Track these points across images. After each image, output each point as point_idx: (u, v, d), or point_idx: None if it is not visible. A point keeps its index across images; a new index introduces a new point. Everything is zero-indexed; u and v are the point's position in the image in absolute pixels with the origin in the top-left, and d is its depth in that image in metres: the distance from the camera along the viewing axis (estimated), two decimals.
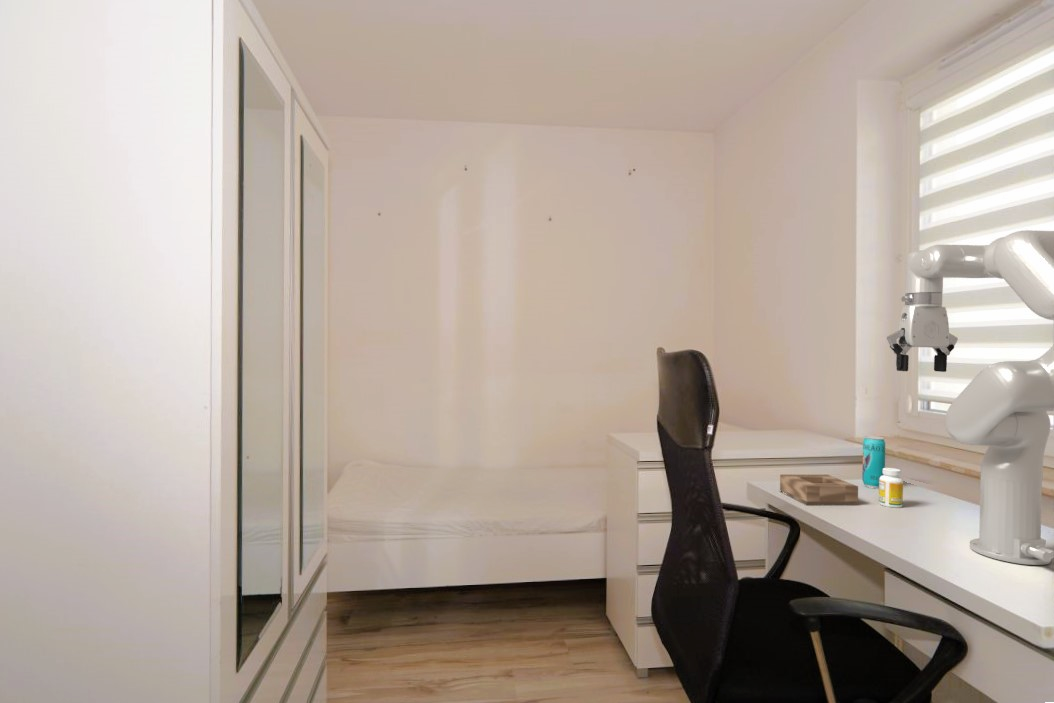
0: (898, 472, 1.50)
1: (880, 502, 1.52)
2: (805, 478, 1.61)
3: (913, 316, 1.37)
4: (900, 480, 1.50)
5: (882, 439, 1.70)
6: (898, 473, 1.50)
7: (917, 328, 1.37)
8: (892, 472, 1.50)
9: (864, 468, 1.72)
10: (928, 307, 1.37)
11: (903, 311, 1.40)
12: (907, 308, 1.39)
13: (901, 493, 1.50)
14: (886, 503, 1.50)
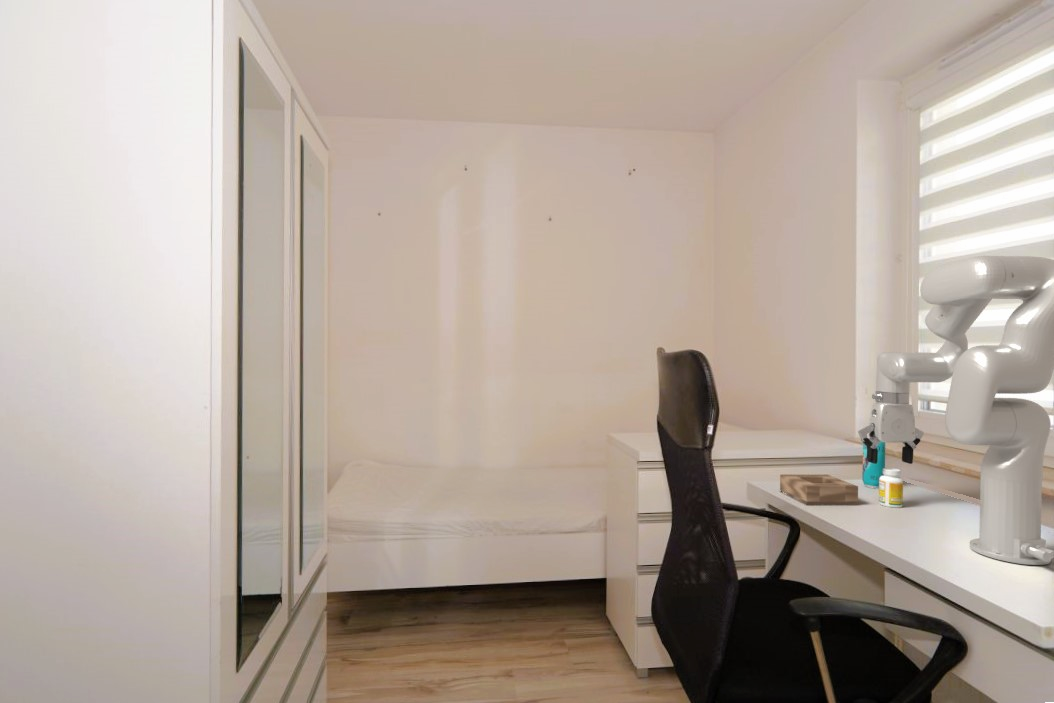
0: (898, 472, 1.50)
1: (880, 502, 1.52)
2: (805, 478, 1.61)
3: (882, 414, 1.49)
4: (900, 480, 1.50)
5: None
6: (898, 473, 1.50)
7: (885, 425, 1.49)
8: (892, 472, 1.50)
9: (864, 468, 1.72)
10: (896, 406, 1.49)
11: (873, 407, 1.52)
12: (877, 405, 1.51)
13: (901, 493, 1.50)
14: (886, 503, 1.50)
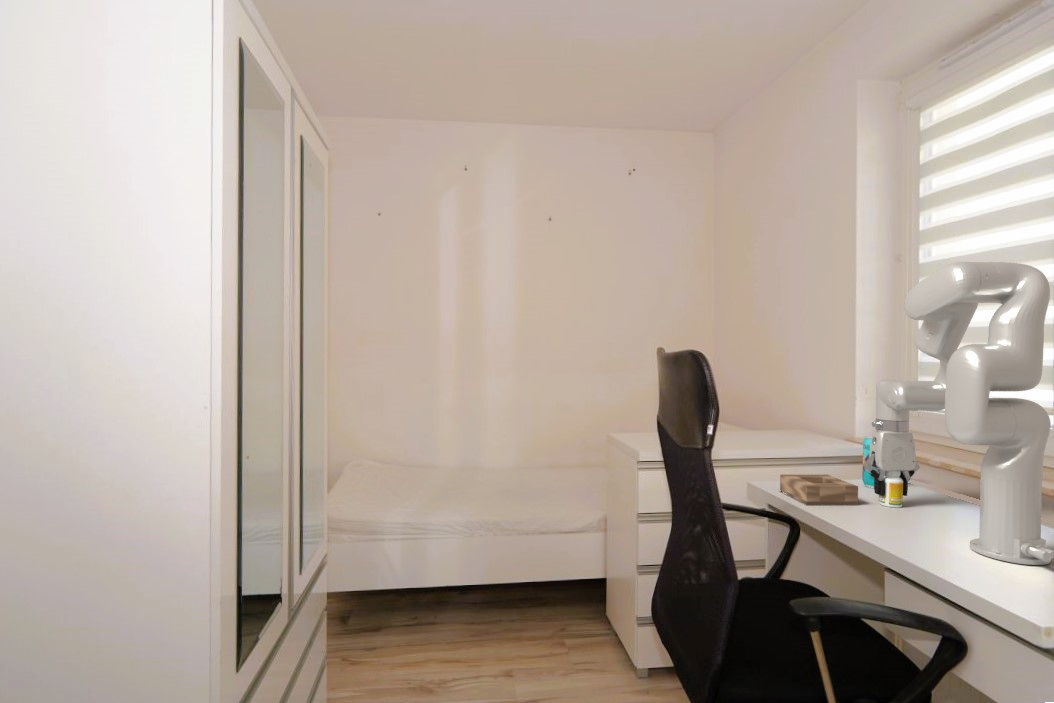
0: (898, 472, 1.50)
1: (880, 502, 1.52)
2: (805, 478, 1.61)
3: (882, 442, 1.49)
4: (900, 480, 1.50)
5: None
6: (898, 473, 1.50)
7: (886, 453, 1.49)
8: (892, 472, 1.50)
9: None
10: (896, 434, 1.49)
11: (873, 435, 1.52)
12: (877, 433, 1.51)
13: (901, 493, 1.50)
14: (886, 503, 1.50)
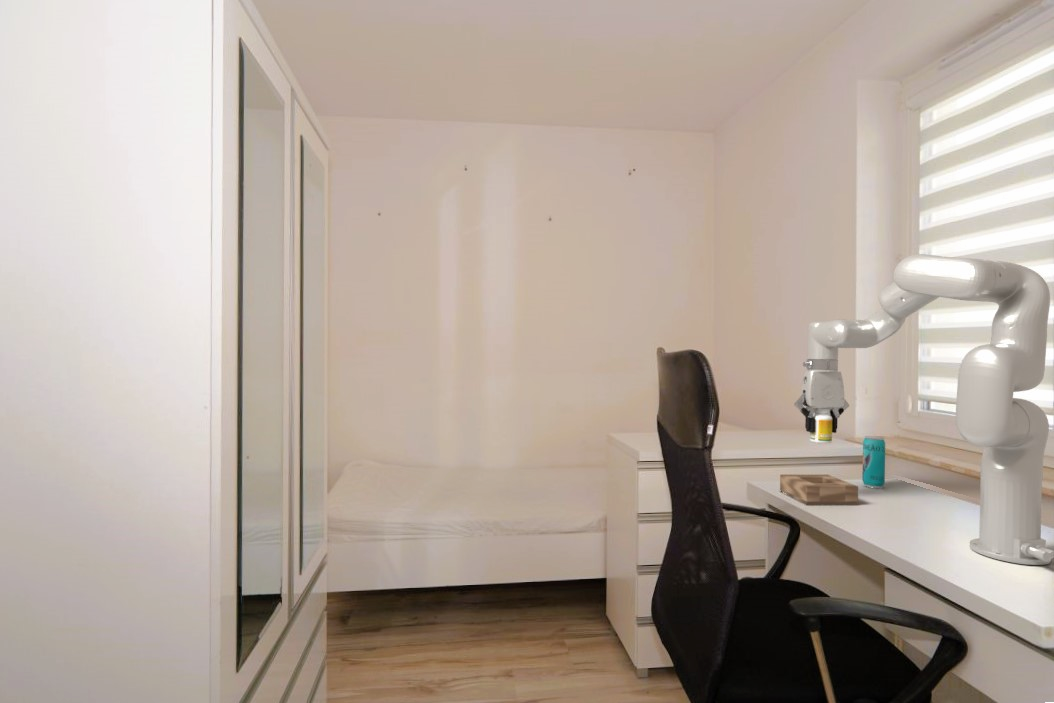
0: (827, 409, 1.56)
1: (811, 439, 1.58)
2: (805, 478, 1.61)
3: (811, 380, 1.55)
4: (829, 417, 1.55)
5: (882, 439, 1.70)
6: (827, 410, 1.56)
7: (815, 391, 1.55)
8: (821, 409, 1.56)
9: (864, 468, 1.72)
10: (825, 372, 1.55)
11: (805, 375, 1.58)
12: (807, 372, 1.56)
13: (830, 429, 1.55)
14: (816, 439, 1.56)
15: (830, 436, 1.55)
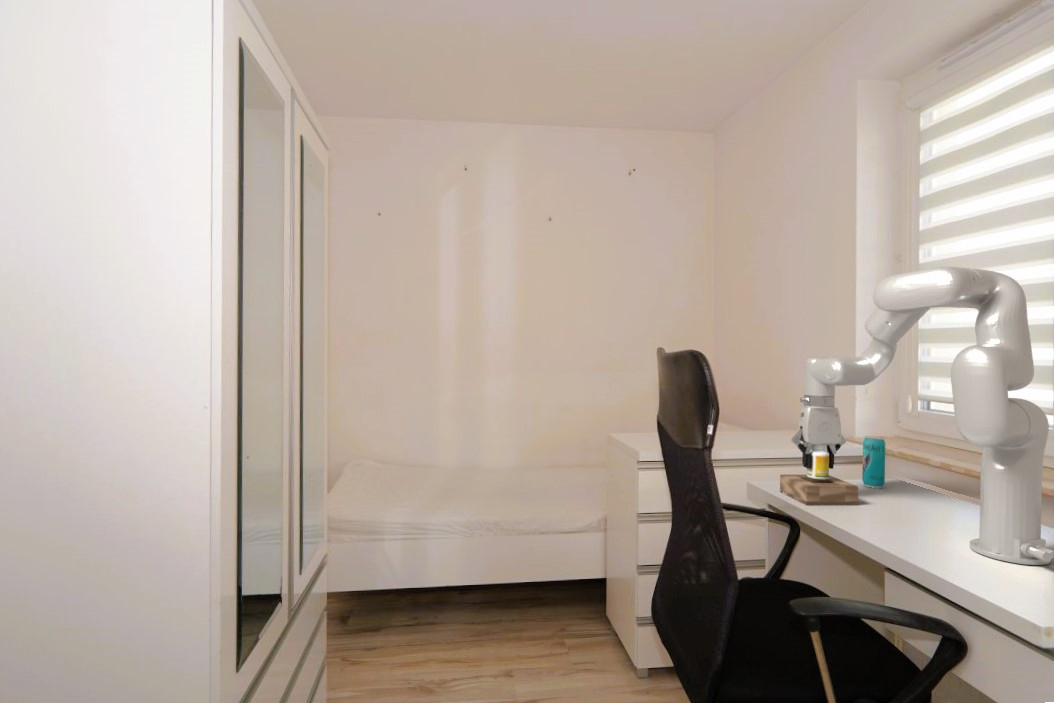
0: (824, 445, 1.56)
1: (808, 475, 1.58)
2: (805, 478, 1.61)
3: (808, 417, 1.55)
4: (826, 453, 1.56)
5: (882, 439, 1.70)
6: (824, 446, 1.56)
7: (812, 428, 1.55)
8: (818, 445, 1.56)
9: (864, 468, 1.72)
10: (822, 409, 1.55)
11: (801, 410, 1.58)
12: (804, 408, 1.57)
13: (827, 466, 1.56)
14: (813, 475, 1.56)
15: (827, 472, 1.56)
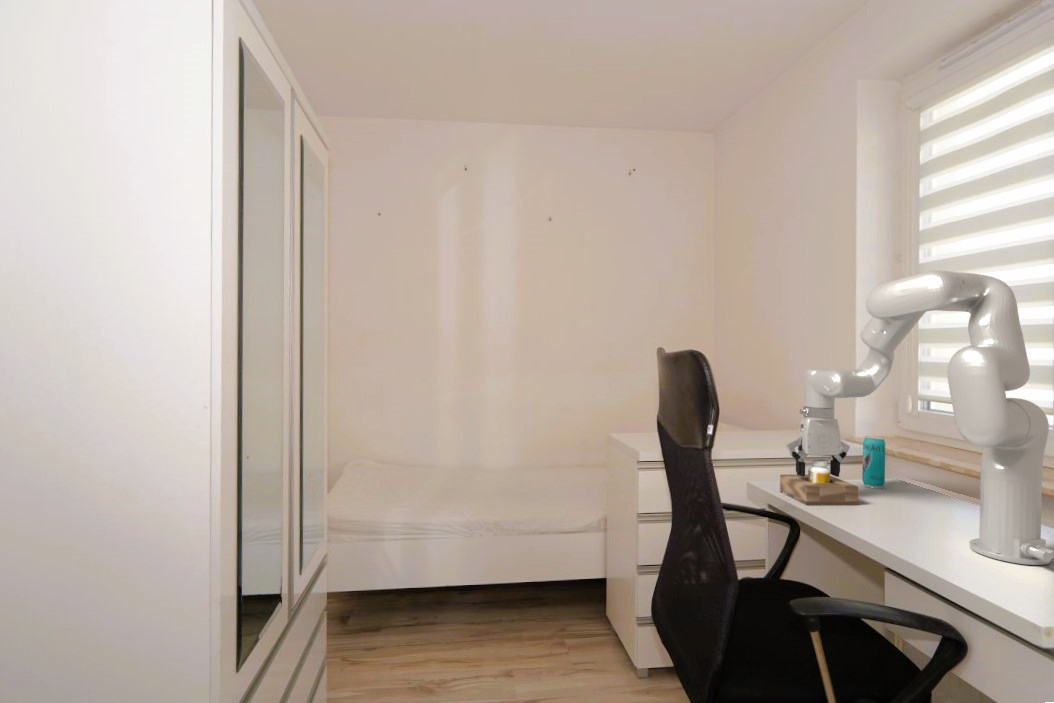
0: (825, 463, 1.56)
1: None
2: (805, 478, 1.61)
3: (808, 428, 1.55)
4: (827, 470, 1.55)
5: (882, 439, 1.70)
6: (825, 464, 1.56)
7: (811, 439, 1.55)
8: (819, 463, 1.56)
9: (864, 468, 1.72)
10: (821, 420, 1.55)
11: (801, 422, 1.58)
12: (804, 420, 1.57)
13: None
14: None
15: None
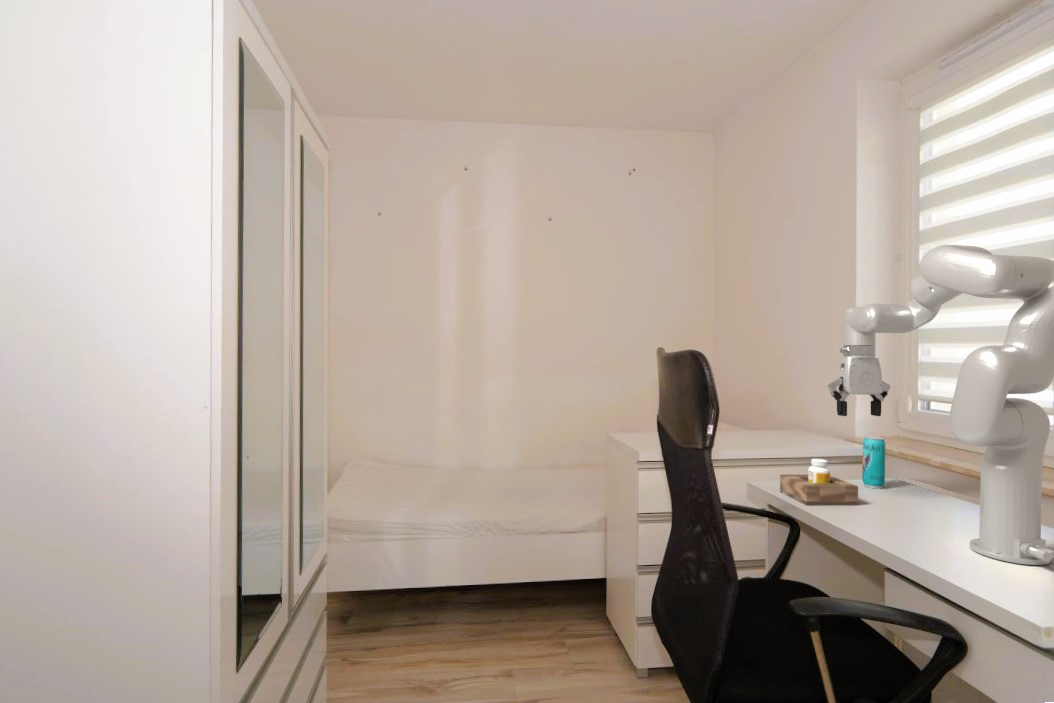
0: (825, 463, 1.56)
1: None
2: (805, 478, 1.61)
3: (850, 366, 1.53)
4: (827, 470, 1.55)
5: (882, 439, 1.70)
6: (825, 464, 1.56)
7: (853, 377, 1.52)
8: (819, 463, 1.56)
9: (864, 468, 1.72)
10: (863, 358, 1.53)
11: (841, 361, 1.56)
12: (845, 359, 1.54)
13: None
14: None
15: None
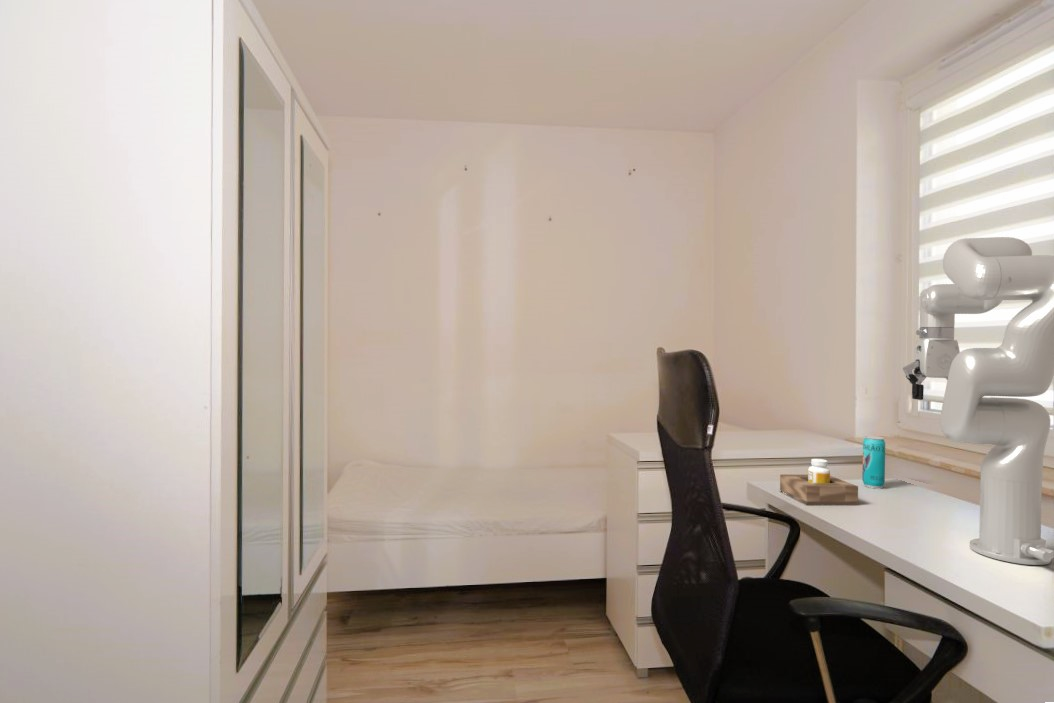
0: (825, 463, 1.56)
1: None
2: (805, 478, 1.61)
3: (927, 349, 1.49)
4: (827, 470, 1.55)
5: (882, 439, 1.70)
6: (825, 464, 1.56)
7: (931, 360, 1.48)
8: (819, 463, 1.56)
9: (864, 468, 1.72)
10: (941, 340, 1.48)
11: (918, 344, 1.52)
12: (921, 341, 1.50)
13: None
14: None
15: None
